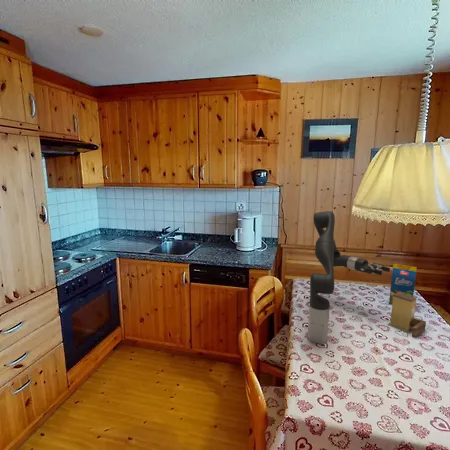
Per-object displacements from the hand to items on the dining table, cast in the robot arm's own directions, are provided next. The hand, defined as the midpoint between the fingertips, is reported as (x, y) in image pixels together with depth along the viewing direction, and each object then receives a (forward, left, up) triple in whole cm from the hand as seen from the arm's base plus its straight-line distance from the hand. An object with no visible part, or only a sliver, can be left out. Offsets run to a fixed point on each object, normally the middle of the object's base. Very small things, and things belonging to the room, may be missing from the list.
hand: (385, 271), depth 162 cm
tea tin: (-5, -9, -27) cm, 29 cm away
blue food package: (+25, -11, -28) cm, 39 cm away
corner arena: (-5, -10, -28) cm, 30 cm away
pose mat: (-5, -9, -28) cm, 30 cm away
